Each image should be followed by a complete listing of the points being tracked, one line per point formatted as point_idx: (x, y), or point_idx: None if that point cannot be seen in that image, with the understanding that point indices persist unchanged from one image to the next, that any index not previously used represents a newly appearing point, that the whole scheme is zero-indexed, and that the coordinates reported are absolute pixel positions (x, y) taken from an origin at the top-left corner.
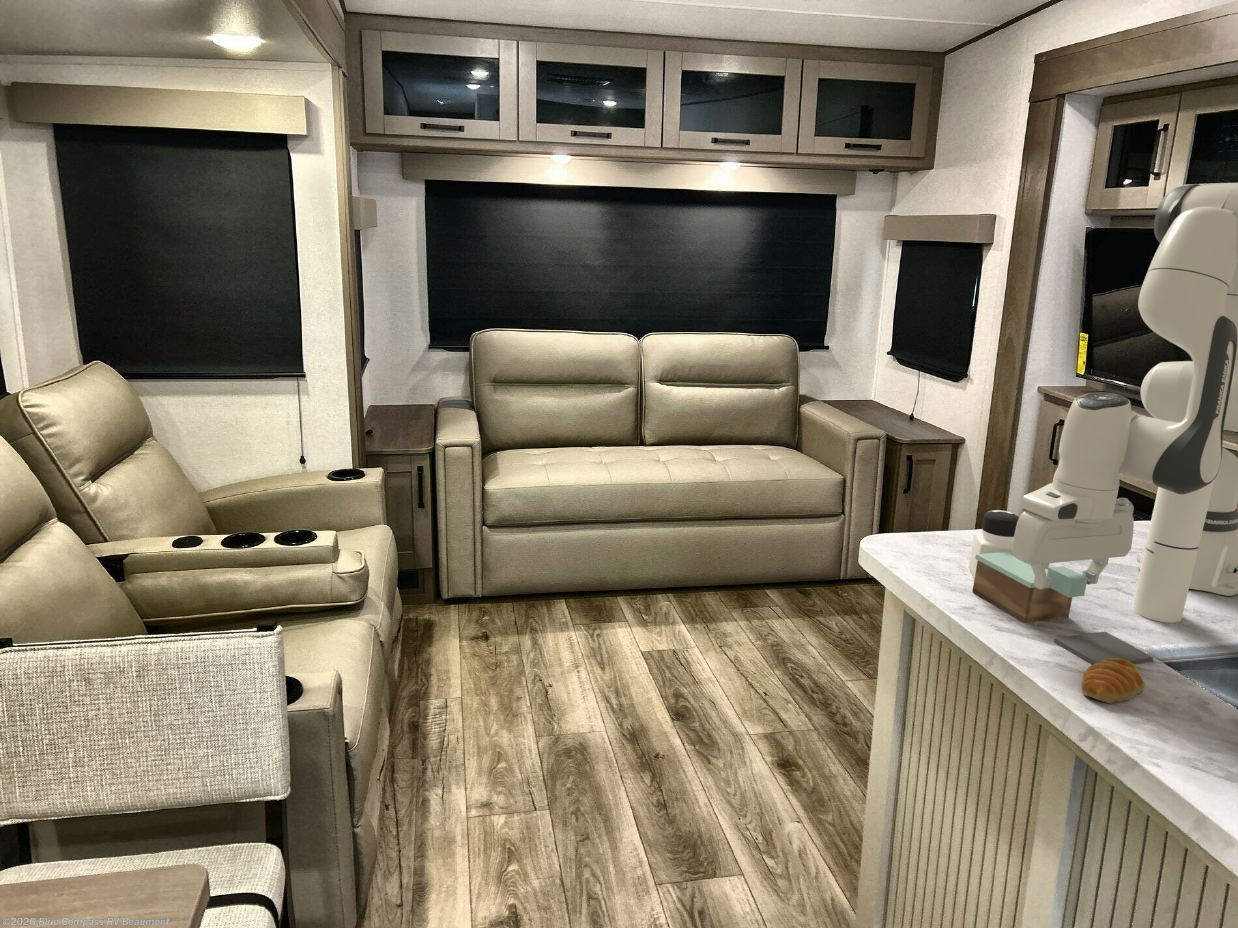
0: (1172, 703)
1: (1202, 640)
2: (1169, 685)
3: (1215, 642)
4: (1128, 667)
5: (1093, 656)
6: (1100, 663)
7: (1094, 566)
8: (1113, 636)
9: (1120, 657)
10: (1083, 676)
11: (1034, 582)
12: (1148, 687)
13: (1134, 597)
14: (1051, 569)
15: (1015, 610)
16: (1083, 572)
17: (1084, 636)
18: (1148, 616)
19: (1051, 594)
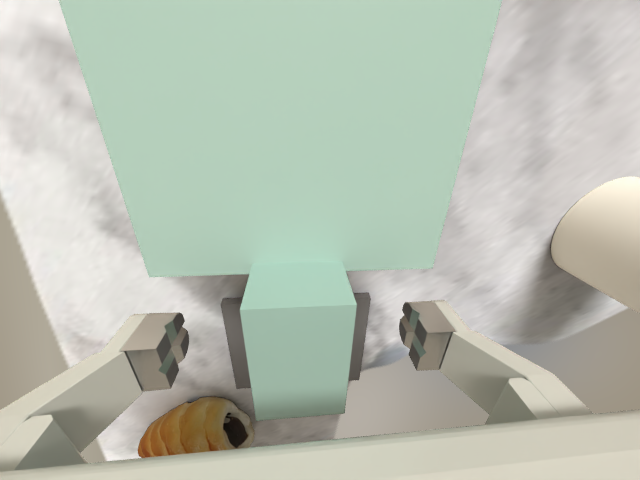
0: (269, 445)
1: (525, 333)
2: (309, 419)
3: (536, 340)
4: None
5: (247, 368)
6: (180, 451)
7: (476, 373)
8: (365, 317)
9: None
10: (157, 428)
11: (126, 325)
12: (272, 420)
13: (621, 204)
14: (244, 325)
15: None
16: (423, 329)
17: None
18: (554, 248)
19: None
